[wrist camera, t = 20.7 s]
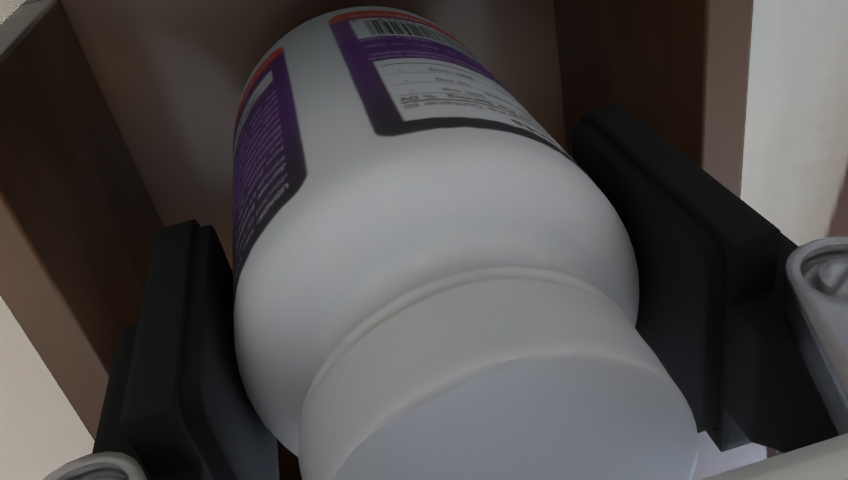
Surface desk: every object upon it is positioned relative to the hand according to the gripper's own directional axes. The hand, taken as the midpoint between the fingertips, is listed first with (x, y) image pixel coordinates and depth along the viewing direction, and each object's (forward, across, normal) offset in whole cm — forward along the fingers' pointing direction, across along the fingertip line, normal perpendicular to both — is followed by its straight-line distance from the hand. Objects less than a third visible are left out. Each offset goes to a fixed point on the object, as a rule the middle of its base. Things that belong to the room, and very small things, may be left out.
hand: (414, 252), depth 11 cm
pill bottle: (+5, 0, 0) cm, 5 cm away
